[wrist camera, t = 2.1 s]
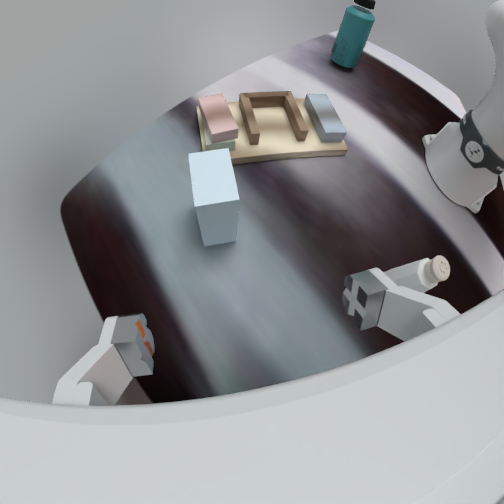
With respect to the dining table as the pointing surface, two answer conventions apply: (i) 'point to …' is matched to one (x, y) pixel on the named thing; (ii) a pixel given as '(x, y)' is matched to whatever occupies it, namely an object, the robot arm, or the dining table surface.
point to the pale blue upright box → (215, 195)
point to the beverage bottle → (353, 34)
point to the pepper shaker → (420, 273)
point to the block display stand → (271, 126)
